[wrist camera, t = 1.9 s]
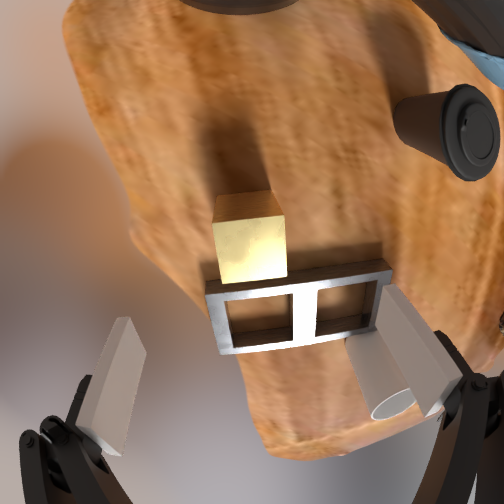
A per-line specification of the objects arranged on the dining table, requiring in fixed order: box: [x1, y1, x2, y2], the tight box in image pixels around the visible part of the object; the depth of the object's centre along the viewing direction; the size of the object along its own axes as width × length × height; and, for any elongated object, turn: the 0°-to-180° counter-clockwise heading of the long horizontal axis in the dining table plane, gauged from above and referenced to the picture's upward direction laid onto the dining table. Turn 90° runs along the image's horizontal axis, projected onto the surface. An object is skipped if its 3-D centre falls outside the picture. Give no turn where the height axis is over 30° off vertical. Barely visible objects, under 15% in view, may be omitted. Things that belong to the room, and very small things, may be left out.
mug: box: [345, 330, 416, 420], centre depth 31 cm, size 10×7×12 cm, turn 22°
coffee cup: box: [393, 84, 500, 181], centre depth 18 cm, size 8×8×10 cm
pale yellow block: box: [212, 190, 287, 284], centre depth 23 cm, size 5×5×7 cm
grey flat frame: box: [205, 259, 393, 355], centre depth 30 cm, size 9×20×2 cm, turn 96°
